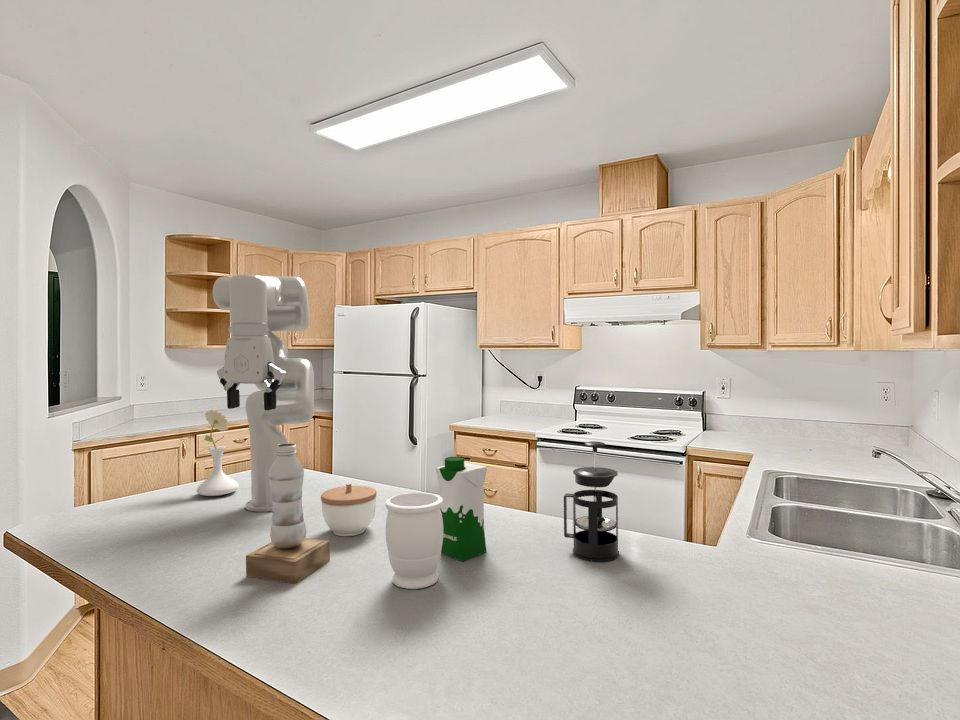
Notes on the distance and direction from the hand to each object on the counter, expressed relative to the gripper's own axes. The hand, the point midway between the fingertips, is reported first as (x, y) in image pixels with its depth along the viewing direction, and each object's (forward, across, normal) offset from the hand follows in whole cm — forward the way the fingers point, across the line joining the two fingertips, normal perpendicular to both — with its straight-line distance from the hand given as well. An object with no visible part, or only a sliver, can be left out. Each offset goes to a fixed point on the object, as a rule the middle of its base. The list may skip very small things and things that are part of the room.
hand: (251, 408), depth 120 cm
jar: (+29, +44, -10) cm, 53 cm away
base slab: (+29, +17, -12) cm, 36 cm away
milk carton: (+29, +48, +5) cm, 56 cm away
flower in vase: (+31, -38, +29) cm, 57 cm away
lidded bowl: (+30, +18, +10) cm, 36 cm away
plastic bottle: (+25, +17, -11) cm, 32 cm away
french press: (+29, +74, +11) cm, 80 cm away
